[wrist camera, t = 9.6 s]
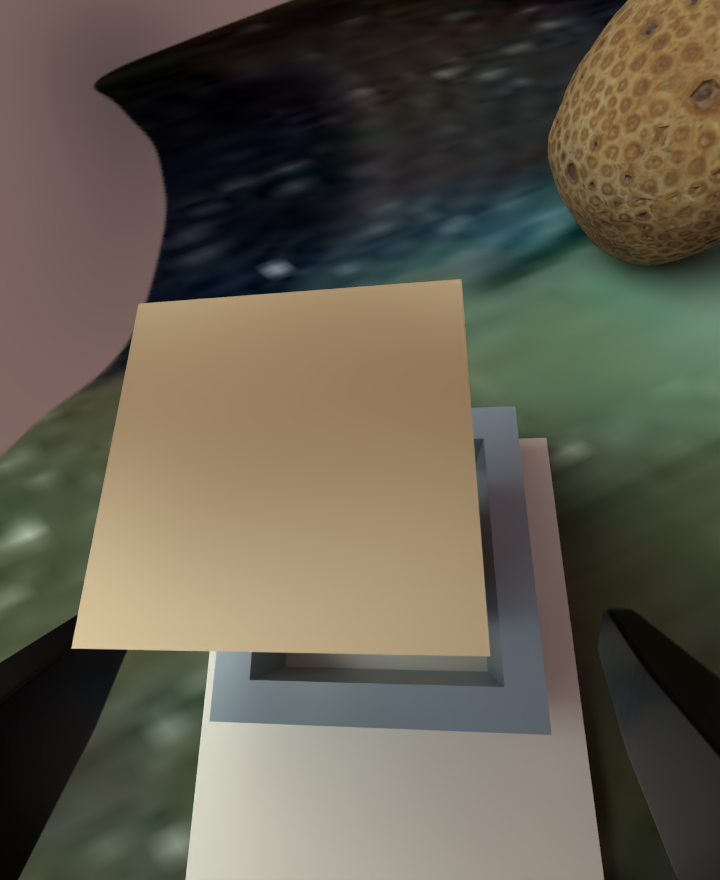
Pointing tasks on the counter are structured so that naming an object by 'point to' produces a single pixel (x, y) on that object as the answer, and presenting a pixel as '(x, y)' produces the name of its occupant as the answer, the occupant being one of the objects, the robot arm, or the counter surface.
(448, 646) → the wooden post
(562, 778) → the well board
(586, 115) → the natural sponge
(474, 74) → the counter surface
